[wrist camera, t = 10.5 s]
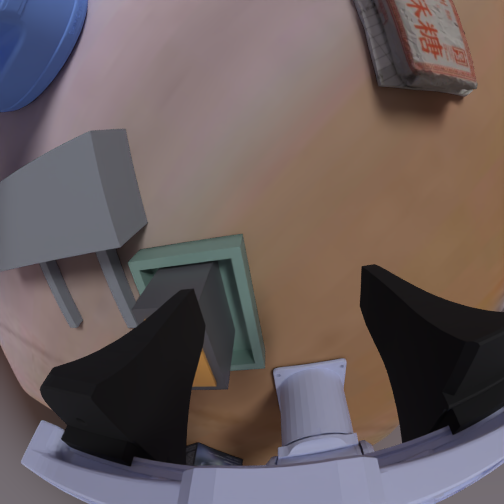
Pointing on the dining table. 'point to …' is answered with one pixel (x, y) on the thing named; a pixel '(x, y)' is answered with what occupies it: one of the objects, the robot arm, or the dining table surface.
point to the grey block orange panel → (213, 311)
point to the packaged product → (418, 45)
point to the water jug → (35, 46)
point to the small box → (209, 456)
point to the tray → (234, 279)
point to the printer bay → (74, 214)
